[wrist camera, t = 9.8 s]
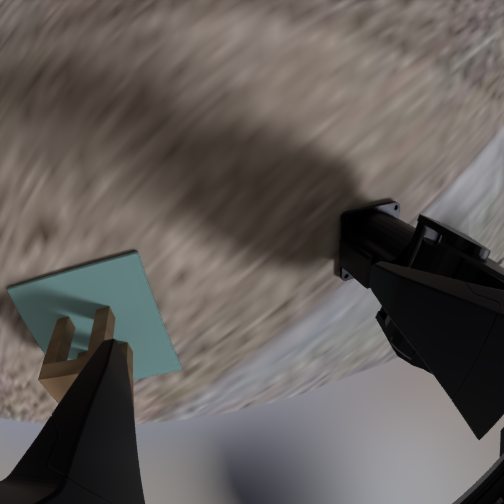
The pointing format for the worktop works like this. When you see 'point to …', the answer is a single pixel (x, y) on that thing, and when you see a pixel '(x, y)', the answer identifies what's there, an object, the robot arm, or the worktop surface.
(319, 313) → the worktop surface
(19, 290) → the mat
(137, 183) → the worktop surface
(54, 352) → the brown u-shaped block
